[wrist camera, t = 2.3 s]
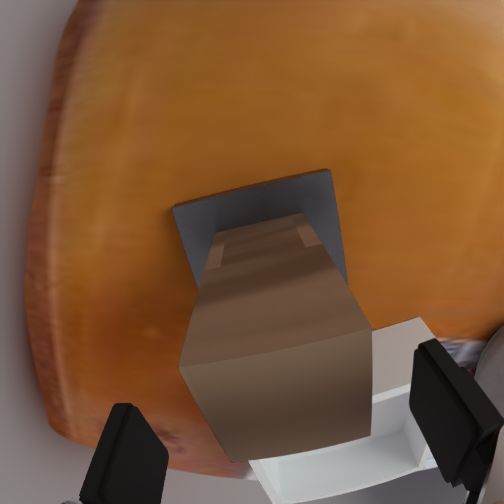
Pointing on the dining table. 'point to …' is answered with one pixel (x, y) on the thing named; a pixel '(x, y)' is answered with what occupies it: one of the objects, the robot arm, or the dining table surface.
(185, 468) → the dining table surface
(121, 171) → the dining table surface
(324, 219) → the stud plate
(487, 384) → the coffee pot
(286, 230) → the walnut post
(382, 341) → the grey bin
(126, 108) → the dining table surface
